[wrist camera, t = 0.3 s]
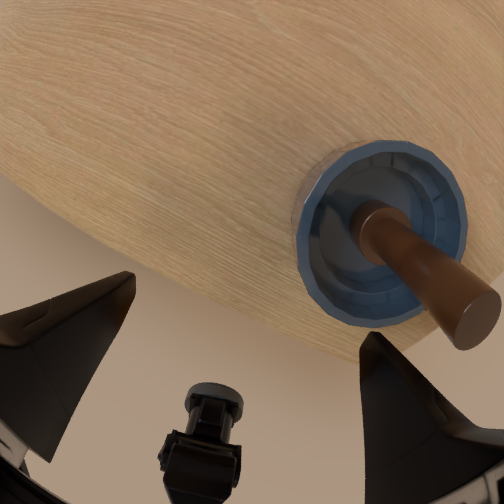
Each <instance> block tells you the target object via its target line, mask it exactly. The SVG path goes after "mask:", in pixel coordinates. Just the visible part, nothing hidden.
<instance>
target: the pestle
mask: <svg viewBox="0 0 504 504" xmlns="http://www.w3.org/2000/svg"><path fill="white" fill-rule="evenodd" d="M349 234H350V237H351V240H352V241H353V243H354V244H355V245H356V247H357V248H358V249H359V250H360V251H361V253H362V254H363V255H364V256H365V258H366V259H367V260H369V261H370V262H371V263H374V264H376V265H388V266H389V267H390V268H391V270H392V271H393V272H394V273H395V274H396V275H397V276H398V277H399V278H400V280H401V281H402V282H403V283H404V284H405V285H406V286H407V288H408V289H409V290H410V291H411V292H412V293H413V295H414V296H415V297H416V298H417V299H418V300H419V302H420V303H421V304H422V305H423V306H424V308H425V309H426V310H427V311H428V313H429V314H430V315H431V316H432V318H433V319H434V320H435V321H436V323H437V324H438V325H439V326H440V328H441V329H442V330H443V332H444V333H445V334H446V335H447V337H448V338H449V339H450V341H451V342H452V343H453V345H454V346H455V347H456V348H457V349H459V350H469V349H471V348H474V347H475V346H477V345H478V344H480V343H481V342H482V341H483V340H484V339H485V338H486V337H487V336H488V335H489V334H490V332H491V331H492V329H493V328H494V326H495V324H496V323H497V320H498V318H499V315H500V312H501V298H500V296H499V294H498V293H497V292H496V291H495V290H494V289H493V288H491V287H490V286H489V285H488V284H486V283H485V282H484V281H483V280H481V279H480V278H479V277H478V276H476V275H475V274H474V273H473V272H471V271H470V270H469V269H467V268H466V267H465V266H463V265H462V264H461V263H459V262H458V261H456V260H455V259H454V258H452V257H451V256H450V255H448V254H447V253H445V252H444V251H442V250H441V249H440V248H438V247H437V246H435V245H434V244H432V243H431V242H429V241H428V240H426V239H425V238H423V237H422V236H420V235H419V234H417V233H416V232H414V231H412V226H411V223H410V220H409V218H408V217H407V215H406V214H405V213H404V212H402V211H401V210H399V209H397V208H395V207H393V206H391V205H389V204H387V203H385V202H383V201H380V200H370V201H367V202H364V203H362V204H361V205H360V206H358V207H357V208H356V210H355V211H354V212H353V214H352V216H351V219H350V222H349Z"/></svg>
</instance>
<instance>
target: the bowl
mask: <svg viewBox="0 0 504 504" xmlns="http://www.w3.org/2000/svg"><path fill="white" fill-rule="evenodd" d="M370 200H380V201H383V202H385V203H387V204H389V205H391V206H393V207H395V208H397V209H399V210H401V211H402V212H404V213H405V214H406V215H407V217H408V218H409V220H410V223H411V226H412V231H414V232H416V233H417V234H419V235H420V236H422V237H423V238H425V239H426V240H428V241H429V242H431V243H432V244H434V245H435V246H437V247H438V248H440V249H441V250H442V251H444V252H445V253H447V254H448V255H450V256H451V257H452V258H454V259H455V260H456V261H458V262H459V263H460V261H461V259H462V256H463V253H464V250H465V246H466V237H467V228H468V220H467V214H466V207H465V201H464V197H463V194H462V192H461V190H460V188H459V186H458V184H457V181H456V179H455V177H454V176H453V174H452V172H451V171H450V170H449V168H448V167H447V166H446V165H445V164H444V163H443V162H442V161H441V160H440V159H439V158H438V157H437V156H436V155H435V154H434V153H432V152H431V151H428V150H426V149H424V148H422V147H420V146H417V145H415V144H413V143H411V142H408V141H396V140H374V141H364V142H356V143H354V144H351V145H348V146H346V147H343V148H340V149H338V150H335V151H333V152H331V153H330V154H329V155H328V156H327V157H325V158H324V159H323V160H322V161H321V162H320V163H318V164H317V165H316V166H315V167H314V168H312V170H311V171H310V173H309V175H308V176H307V178H306V180H305V181H304V183H303V185H302V186H301V188H300V190H299V191H298V193H297V197H296V201H295V205H294V210H293V214H292V218H291V226H292V238H293V248H294V252H295V257H296V262H297V267H298V270H299V272H300V275H301V277H302V279H303V282H304V284H305V286H306V289H307V291H308V294H309V295H310V296H311V297H312V298H313V299H314V300H315V302H316V303H317V304H318V305H319V306H320V307H321V308H322V309H323V310H324V311H325V312H326V313H327V314H328V315H330V316H332V317H334V318H336V319H338V320H340V321H342V322H344V323H346V324H348V325H352V326H359V327H366V328H380V327H386V326H392V325H397V324H400V323H402V322H404V321H406V320H408V319H410V318H412V317H414V316H416V315H418V314H420V313H422V312H423V311H424V310H425V308H424V306H423V305H422V304H421V303H420V302H419V300H418V299H417V298H416V297H415V296H414V295H413V293H412V292H411V291H410V290H409V289H408V288H407V286H406V285H405V284H404V283H403V282H402V281H401V280H400V278H399V277H398V276H397V275H396V274H395V273H394V272H393V271H392V270H391V268H390V267H389V266H388V265H376V264H374V263H371V262H370V261H369V260H367V259H366V258H365V256H364V255H363V254H362V253H361V251H360V250H359V249H358V248H357V247H356V245H355V244H354V243H353V241H352V240H351V237H350V234H349V222H350V219H351V216H352V214H353V212H354V211H355V210H356V208H357V207H358V206H360V205H361V204H362V203H364V202H367V201H370Z"/></svg>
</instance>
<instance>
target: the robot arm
mask: <svg viewBox="0 0 504 504" xmlns="http://www.w3.org/2000/svg"><path fill="white" fill-rule="evenodd" d="M135 294H136V276H135V274H134V273H131V272H128V271H123V272H120V273H117V274H115V275H112V276H109V277H107V278H104V279H101V280H98V281H96V282H93V283H90V284H88V285H85V286H83V287H80V288H77V289H75V290H72V291H69V292H66V293H64V294H61V295H59V296H56V297H53V298H51V300H50V299H48V300H46V301H43V302H40V303H38V304H35V305H32V306H30V307H26V308H23V309H20V310H17V311H13V312H10V313H7V314H3V315H0V504H70V503H68V502H67V501H65V500H63V499H62V498H60V497H58V496H57V495H55V494H54V493H52V492H50V491H49V490H47V489H46V488H44V487H43V486H41V485H40V484H38V483H37V482H36V481H34V480H33V479H31V478H30V475H29V472H28V470H27V467H26V463H25V460H24V457H25V455H26V453H27V451H28V449H30V450H31V451H32V452H34V453H35V454H36V455H38V456H39V457H41V458H42V459H44V460H45V461H47V462H48V463H50V462H51V461H52V458H53V456H54V454H55V452H56V449H57V447H58V445H59V443H60V440H61V438H62V436H63V434H64V432H65V430H66V428H67V425H68V423H69V421H70V419H71V417H72V415H73V413H74V411H75V409H76V407H77V405H78V403H79V401H80V399H81V397H82V395H83V393H84V391H85V390H86V388H87V386H88V384H89V382H90V380H91V378H92V377H93V375H94V373H95V371H96V369H97V368H98V366H99V364H100V362H101V360H102V359H103V357H104V355H105V354H106V352H107V350H108V348H109V346H110V345H111V343H112V342H113V340H114V338H115V337H116V335H117V333H118V331H119V330H120V327H121V326H122V323H123V321H124V319H125V317H126V315H127V313H128V310H129V308H130V306H131V304H132V302H133V300H134V298H135ZM359 359H360V391H361V402H362V414H363V428H364V446H365V478H366V479H365V504H504V429H486V428H481V427H478V426H476V425H475V424H473V423H472V422H471V421H470V420H469V419H468V418H466V417H465V416H464V415H463V414H462V413H461V412H460V411H459V410H458V409H457V408H456V407H454V406H453V405H452V404H451V403H450V402H449V401H448V400H447V399H446V398H445V397H444V396H443V395H442V394H441V393H440V392H439V391H438V390H437V389H436V388H435V387H434V386H433V385H432V384H431V383H430V382H429V381H428V380H427V379H426V378H425V377H424V376H423V375H422V374H421V373H420V372H419V370H418V369H417V368H416V367H414V365H412V363H411V362H410V361H409V360H408V359H407V358H406V357H404V355H403V354H402V353H401V352H400V351H399V350H398V349H396V348H395V347H394V346H393V345H392V344H391V343H390V342H389V341H388V340H387V339H386V338H385V337H384V336H383V335H382V334H381V333H380V332H374V331H371V332H370V333H369V334H368V335H367V337H366V338H365V340H364V342H363V343H362V345H361V347H360V350H359ZM238 409H239V403H238V402H233V401H228V400H223V399H218V398H214V397H209V396H205V395H201V394H196V393H191V395H190V405H189V420H188V424H187V427H186V431H185V433H182V432H178V431H177V430H174V429H173V431H172V433H171V434H167V437H166V440H165V443H164V445H163V447H162V449H161V451H160V452H159V454H158V459H159V461H160V465H161V468H160V470H161V471H164V472H165V473H164V477H163V483H164V487H165V490H166V493H167V495H168V498H169V500H170V503H171V504H222V503H224V501H225V500H227V499H228V498H229V496H230V495H231V491H232V488H236V486H237V484H238V481H239V477H240V472H241V445H232V444H229V439H230V433H231V428H232V427H233V425H234V422H235V419H236V415H237V412H238Z"/></svg>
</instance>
